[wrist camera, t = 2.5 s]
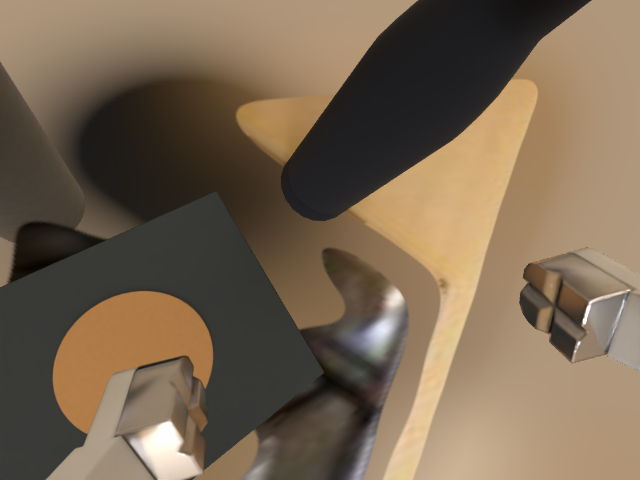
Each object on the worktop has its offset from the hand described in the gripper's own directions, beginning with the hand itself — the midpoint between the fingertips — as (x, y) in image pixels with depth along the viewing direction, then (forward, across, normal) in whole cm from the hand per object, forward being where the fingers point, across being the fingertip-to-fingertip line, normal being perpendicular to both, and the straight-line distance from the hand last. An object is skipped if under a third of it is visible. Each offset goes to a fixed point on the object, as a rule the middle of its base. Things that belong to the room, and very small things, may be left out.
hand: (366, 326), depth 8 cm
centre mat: (+12, +12, +10) cm, 20 cm away
